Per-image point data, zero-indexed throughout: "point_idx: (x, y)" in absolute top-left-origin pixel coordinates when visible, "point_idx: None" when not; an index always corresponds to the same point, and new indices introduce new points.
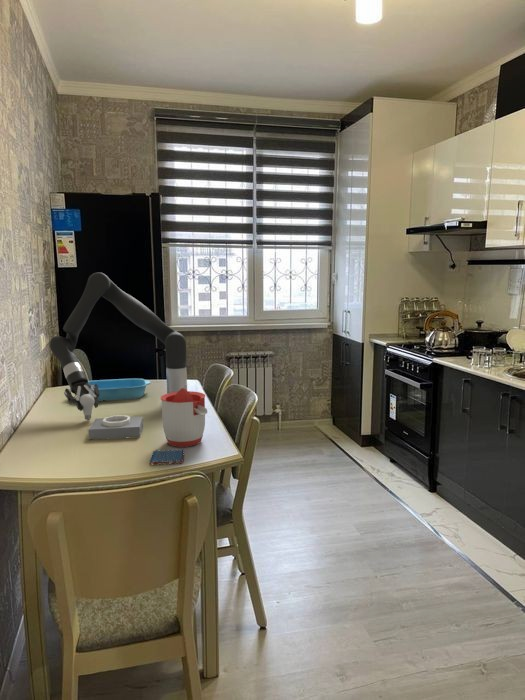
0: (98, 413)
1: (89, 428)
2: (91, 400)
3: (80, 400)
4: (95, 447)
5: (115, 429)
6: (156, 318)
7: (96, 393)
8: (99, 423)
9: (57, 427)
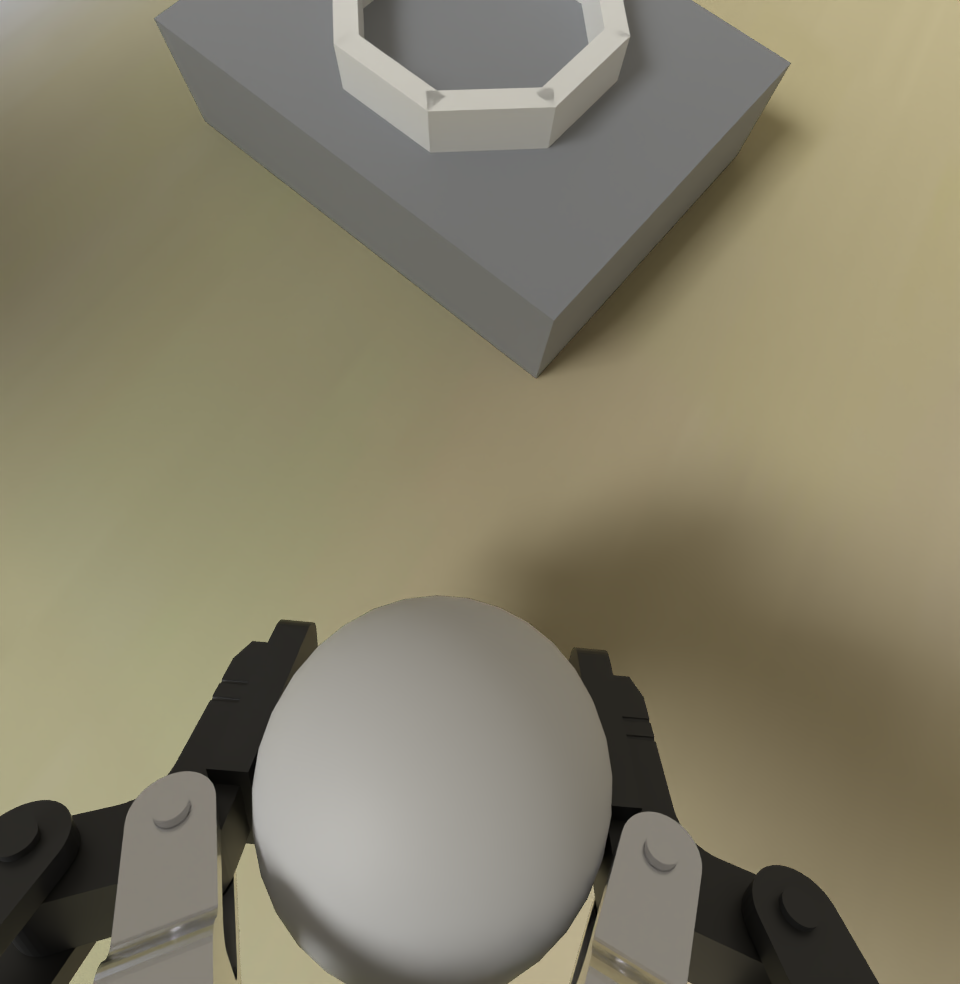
0: None
1: (770, 81)
2: (409, 602)
3: (608, 767)
4: (768, 8)
5: None
6: None
7: (23, 919)
8: (618, 137)
9: (820, 754)
